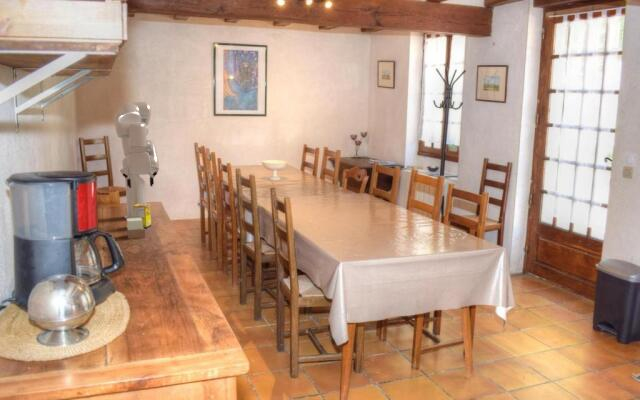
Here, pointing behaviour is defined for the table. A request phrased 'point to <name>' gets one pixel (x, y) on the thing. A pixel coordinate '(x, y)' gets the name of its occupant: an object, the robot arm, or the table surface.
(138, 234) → the walnut slab
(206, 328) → the table surface
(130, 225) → the cream square block
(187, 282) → the table surface
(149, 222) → the supplement box
